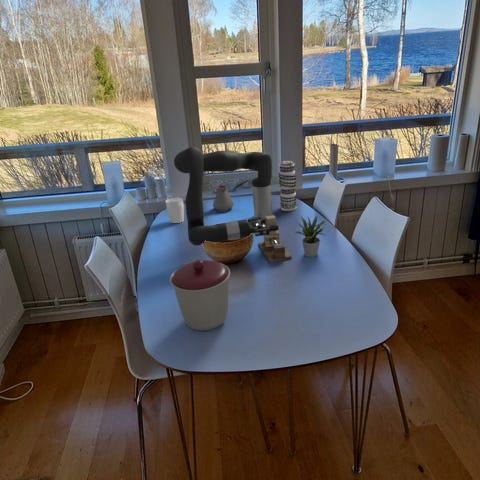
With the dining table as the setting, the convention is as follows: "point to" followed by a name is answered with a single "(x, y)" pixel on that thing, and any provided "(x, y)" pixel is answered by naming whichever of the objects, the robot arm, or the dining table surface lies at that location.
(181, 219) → the cup
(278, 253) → the base board
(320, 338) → the dining table surface
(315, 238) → the house plant
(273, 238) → the pipe
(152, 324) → the dining table surface
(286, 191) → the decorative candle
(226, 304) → the canister
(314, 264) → the dining table surface
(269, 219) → the tan stepped block
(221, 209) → the coffee pot
